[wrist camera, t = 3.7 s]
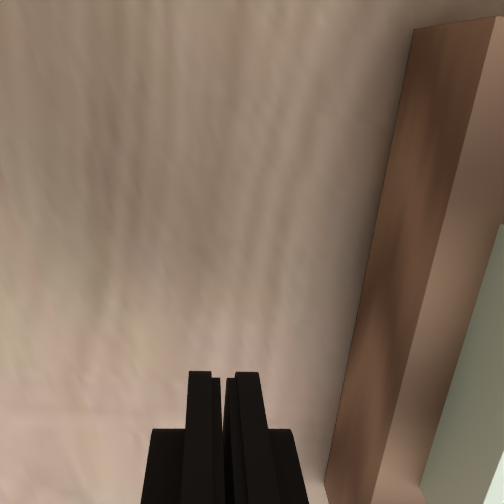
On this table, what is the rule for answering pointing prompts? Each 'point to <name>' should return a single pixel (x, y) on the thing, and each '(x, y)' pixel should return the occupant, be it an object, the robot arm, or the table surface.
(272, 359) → the table surface
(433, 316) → the brown wooden flat block
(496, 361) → the block
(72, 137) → the table surface
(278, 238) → the table surface
